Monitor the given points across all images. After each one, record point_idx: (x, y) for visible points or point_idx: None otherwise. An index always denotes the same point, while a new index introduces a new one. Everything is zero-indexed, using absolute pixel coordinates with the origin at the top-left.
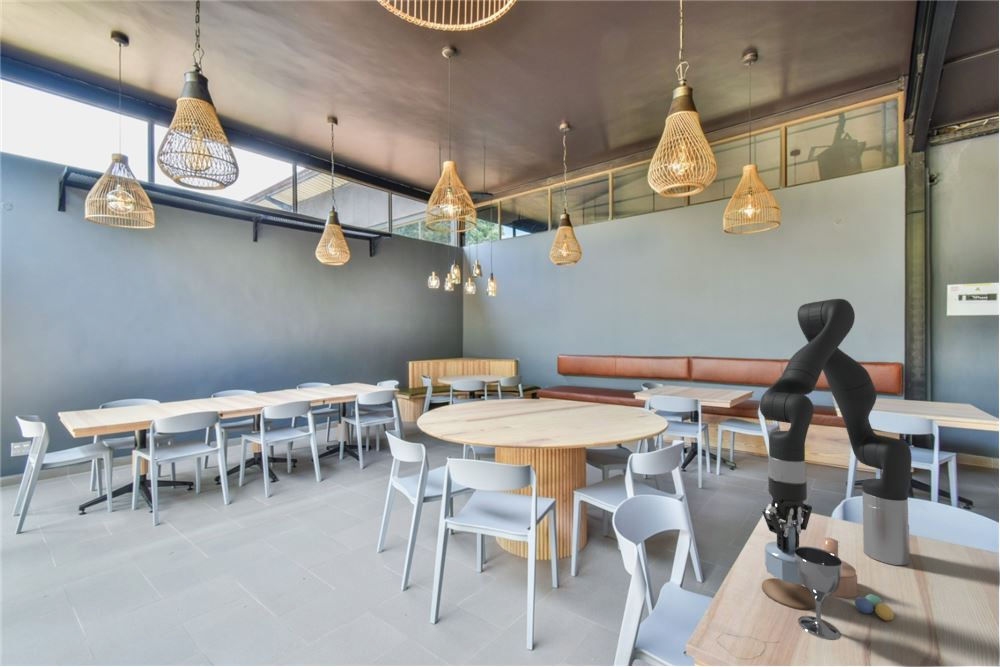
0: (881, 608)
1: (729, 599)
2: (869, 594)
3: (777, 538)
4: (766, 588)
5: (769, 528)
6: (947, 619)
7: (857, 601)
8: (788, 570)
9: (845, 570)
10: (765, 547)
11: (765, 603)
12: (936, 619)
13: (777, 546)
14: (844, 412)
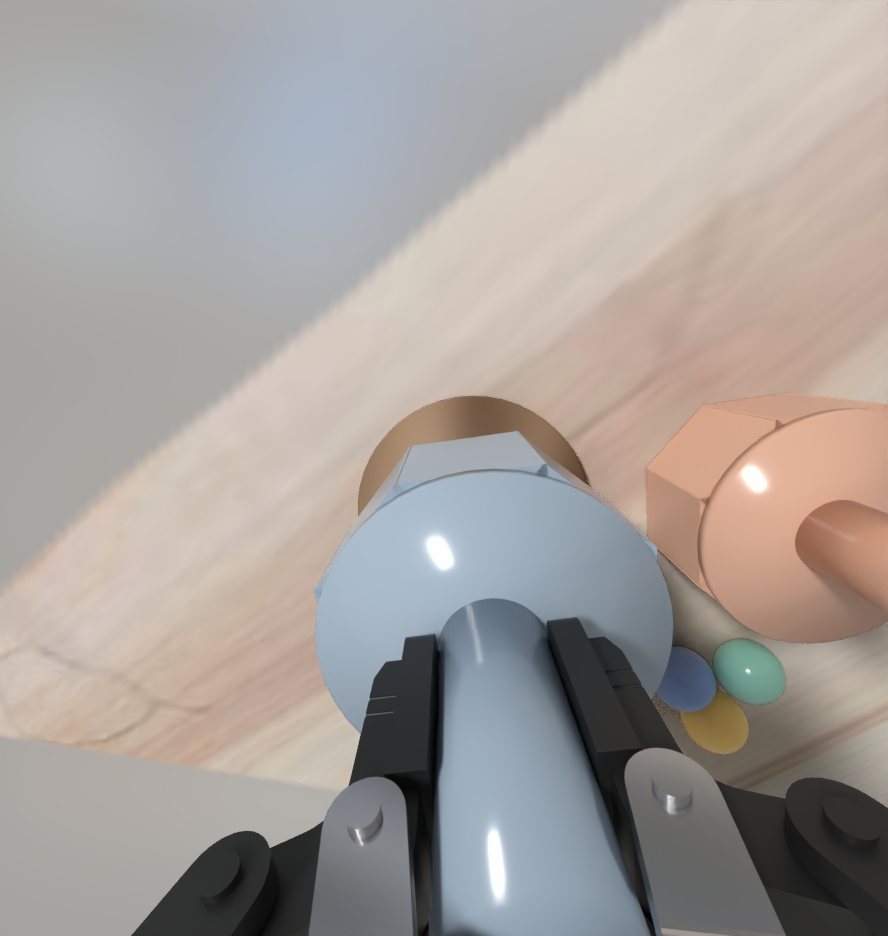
0: (704, 739)
1: (164, 484)
2: (764, 678)
3: (358, 754)
4: (384, 468)
5: (160, 924)
6: None
7: (666, 681)
8: None
9: (842, 602)
10: (356, 532)
11: (311, 539)
12: (878, 731)
13: (382, 668)
14: None
